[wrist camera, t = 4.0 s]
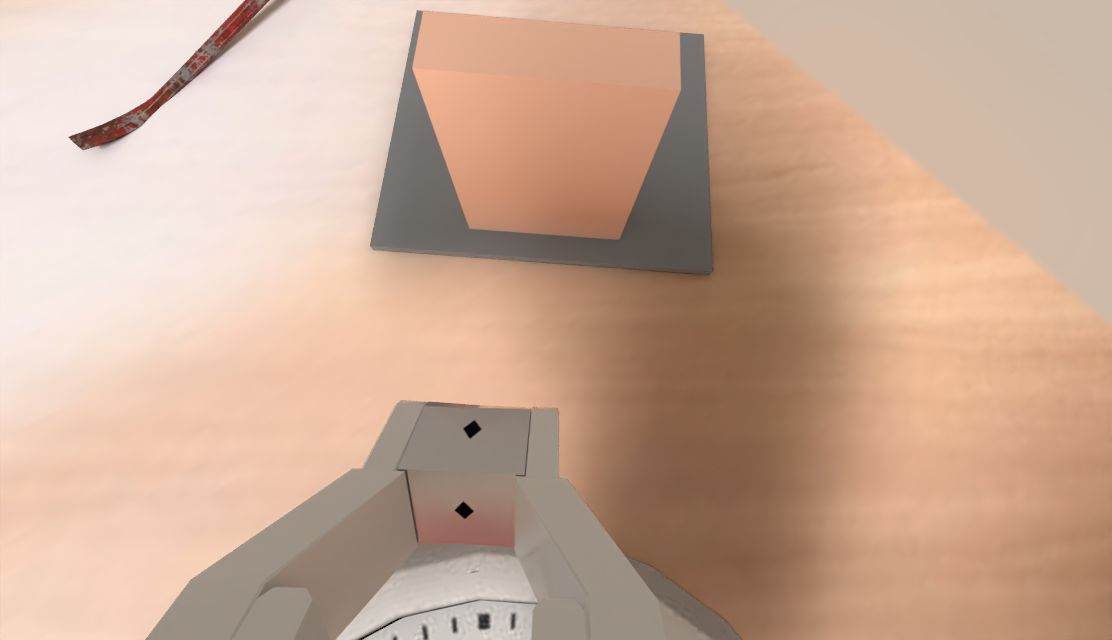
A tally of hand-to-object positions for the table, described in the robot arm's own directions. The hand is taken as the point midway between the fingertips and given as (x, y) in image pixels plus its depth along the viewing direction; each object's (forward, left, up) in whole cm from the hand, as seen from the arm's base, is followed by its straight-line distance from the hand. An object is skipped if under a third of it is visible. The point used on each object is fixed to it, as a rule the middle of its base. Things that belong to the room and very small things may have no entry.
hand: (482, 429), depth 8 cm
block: (-1, -11, -12) cm, 16 cm away
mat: (-1, -17, -12) cm, 21 cm away
